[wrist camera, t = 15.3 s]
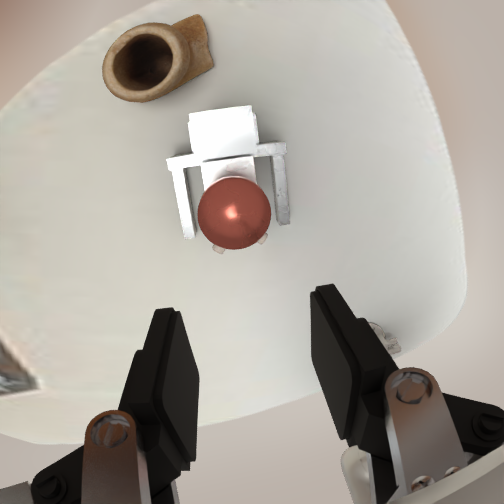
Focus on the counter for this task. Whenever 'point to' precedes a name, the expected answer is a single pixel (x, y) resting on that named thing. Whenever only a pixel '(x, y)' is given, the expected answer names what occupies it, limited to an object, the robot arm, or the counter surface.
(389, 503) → the robot arm
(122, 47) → the brown boot vase
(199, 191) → the counter surface
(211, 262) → the counter surface
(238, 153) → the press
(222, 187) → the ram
